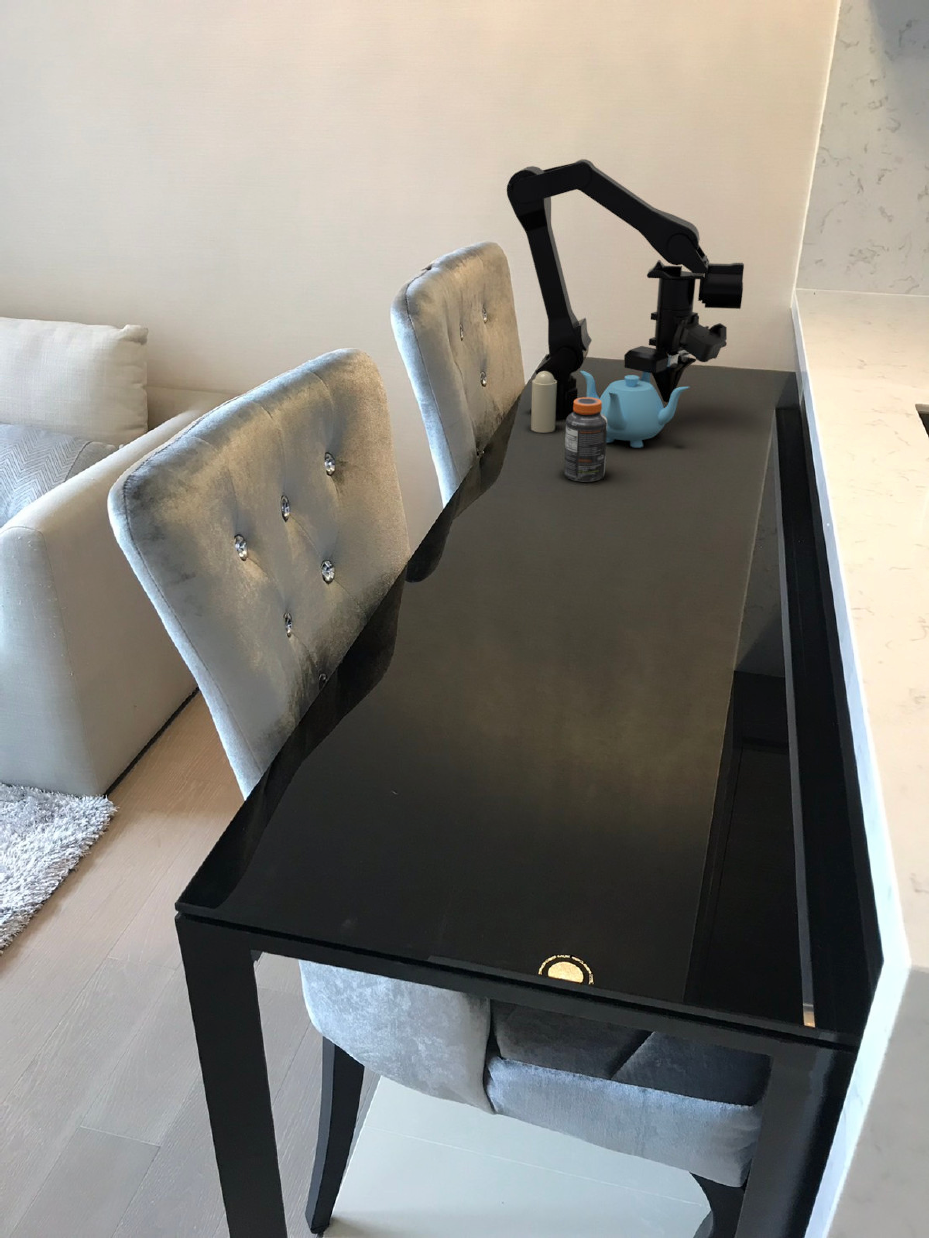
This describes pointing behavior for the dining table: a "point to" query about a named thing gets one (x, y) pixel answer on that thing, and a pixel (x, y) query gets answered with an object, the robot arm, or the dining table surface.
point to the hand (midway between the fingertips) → (667, 401)
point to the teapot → (633, 408)
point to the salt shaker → (543, 402)
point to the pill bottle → (585, 441)
